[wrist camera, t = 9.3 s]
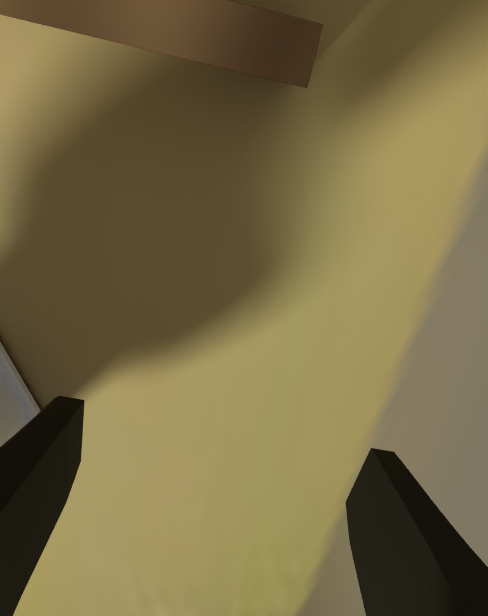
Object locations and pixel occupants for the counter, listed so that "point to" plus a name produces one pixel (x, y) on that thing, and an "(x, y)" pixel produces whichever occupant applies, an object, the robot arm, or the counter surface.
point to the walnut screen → (189, 31)
